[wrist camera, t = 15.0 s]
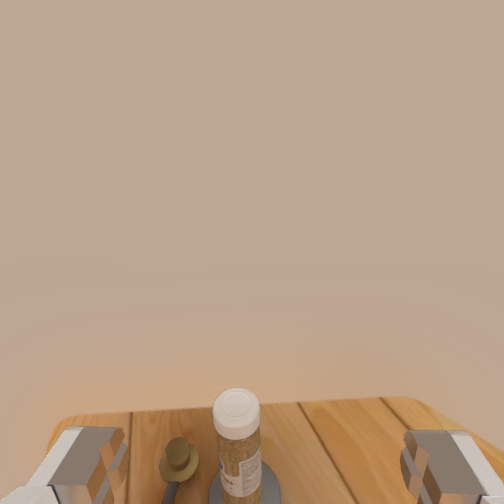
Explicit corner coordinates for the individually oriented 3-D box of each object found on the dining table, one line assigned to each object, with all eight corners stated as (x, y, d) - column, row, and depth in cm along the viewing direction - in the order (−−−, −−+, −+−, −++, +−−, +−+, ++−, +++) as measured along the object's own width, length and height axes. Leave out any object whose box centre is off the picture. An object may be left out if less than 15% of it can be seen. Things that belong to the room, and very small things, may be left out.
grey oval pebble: (279, 464, 38) (279, 458, 37) (282, 545, 30) (282, 538, 30) (215, 463, 38) (214, 456, 38) (203, 543, 31) (201, 536, 30)
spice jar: (215, 490, 34) (203, 399, 29) (248, 466, 36) (243, 378, 32) (236, 530, 31) (227, 434, 26) (272, 500, 33) (269, 408, 28)
